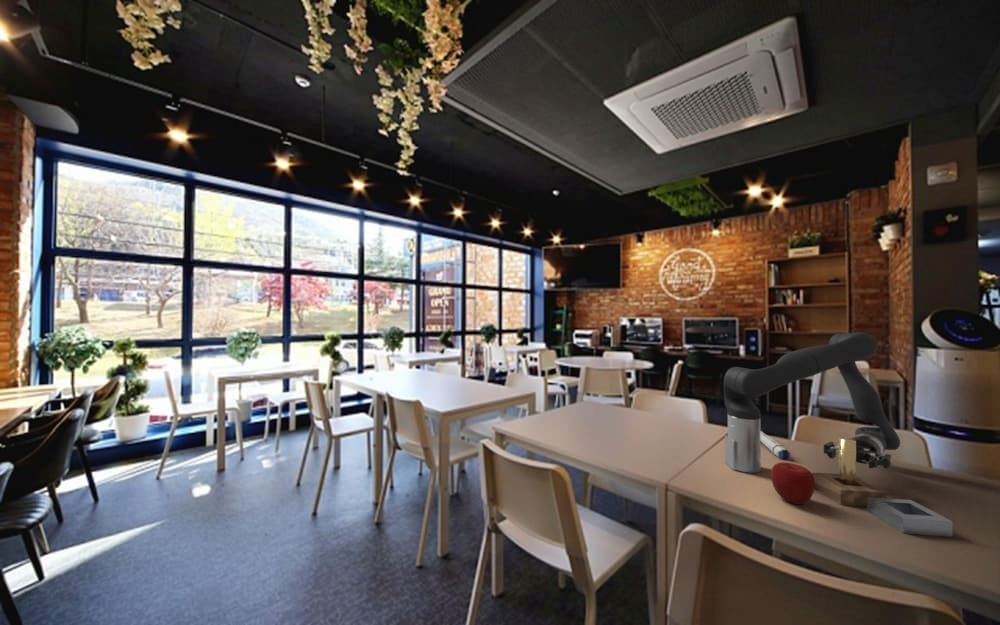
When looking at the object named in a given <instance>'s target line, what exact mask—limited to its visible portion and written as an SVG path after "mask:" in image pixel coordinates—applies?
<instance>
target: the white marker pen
mask: <svg viewBox="0 0 1000 625" xmlns="http://www.w3.org/2000/svg"><path fill="white" fill-rule="evenodd" d="M760 443H762V444H763V445H765V447H766V448H768V449H769V450H770V451H771V453H772V454H773V455H774V456H777V458H779V459H780V460H785V461H786V460H789V459H790V458H791V452H790V451H788V449H787V448H786V447H785V446H784V445H783V444H780V443H778V442H777V441H776V440H775V439H772V438H771V437H770V436H768V435H767V434H766V433H764V432H763V430H760Z"/></svg>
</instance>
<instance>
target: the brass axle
mask: <svg viewBox="0 0 1000 625" xmlns="http://www.w3.org/2000/svg"><path fill="white" fill-rule="evenodd" d="M838 445H839V456H838V474H839V482H840V483H842V484H843V485H849V486H856V476H857V462H856V440H854V439H851V438H850V437H843V436H840V437H838Z"/></svg>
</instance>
